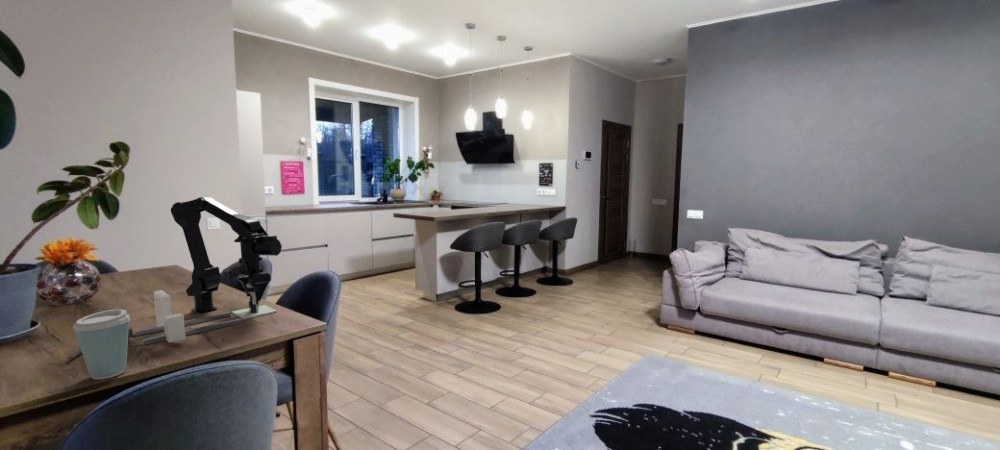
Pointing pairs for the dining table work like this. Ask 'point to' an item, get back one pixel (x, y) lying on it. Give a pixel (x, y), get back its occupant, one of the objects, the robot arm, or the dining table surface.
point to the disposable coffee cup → (104, 342)
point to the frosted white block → (168, 317)
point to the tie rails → (190, 331)
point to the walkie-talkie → (81, 351)
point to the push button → (252, 299)
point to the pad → (246, 314)
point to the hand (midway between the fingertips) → (253, 298)
